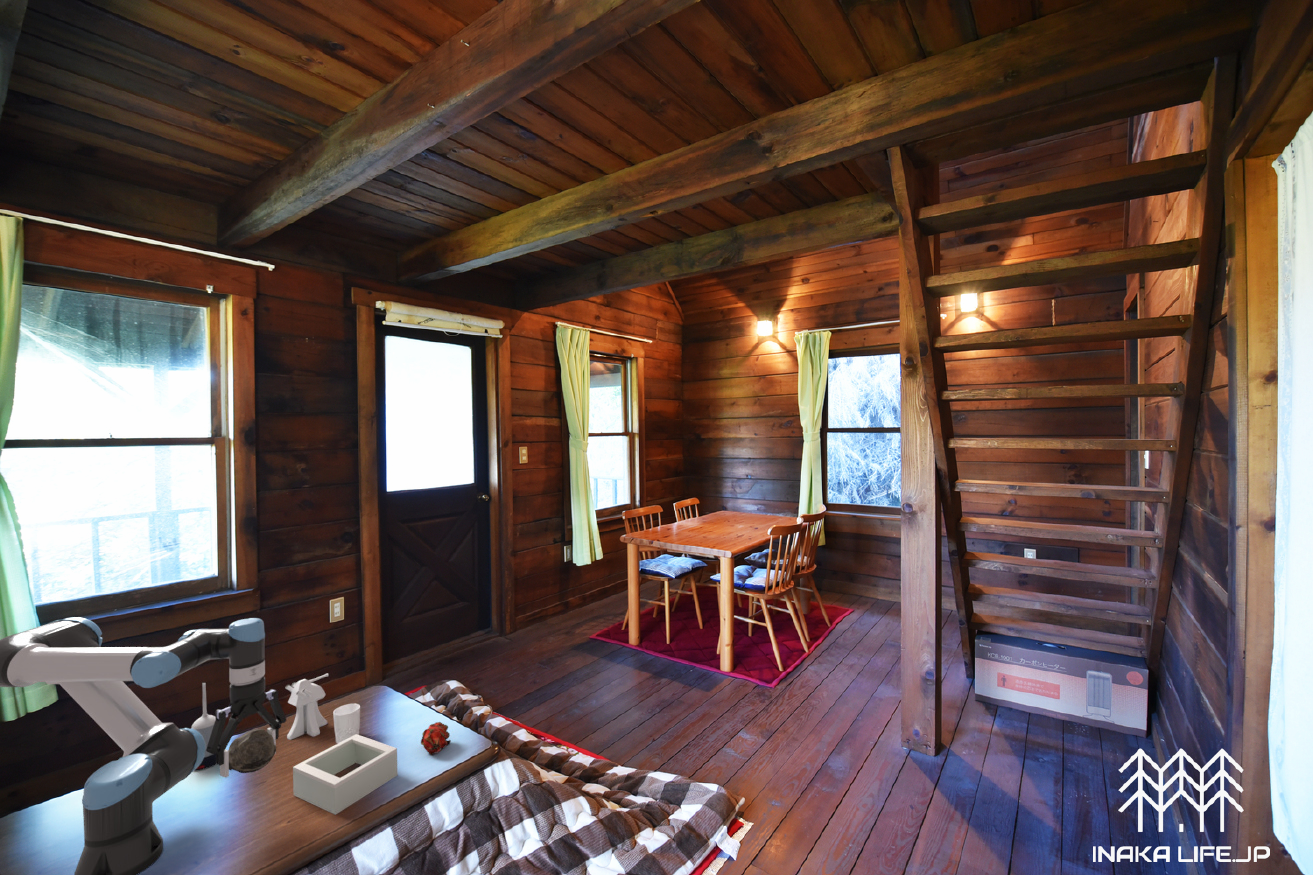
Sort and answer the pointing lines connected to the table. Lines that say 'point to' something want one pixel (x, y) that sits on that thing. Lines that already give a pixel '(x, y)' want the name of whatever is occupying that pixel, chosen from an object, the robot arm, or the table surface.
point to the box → (339, 793)
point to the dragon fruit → (435, 738)
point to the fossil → (251, 751)
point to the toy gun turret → (306, 707)
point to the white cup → (346, 721)
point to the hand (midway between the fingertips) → (248, 763)
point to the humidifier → (205, 733)
